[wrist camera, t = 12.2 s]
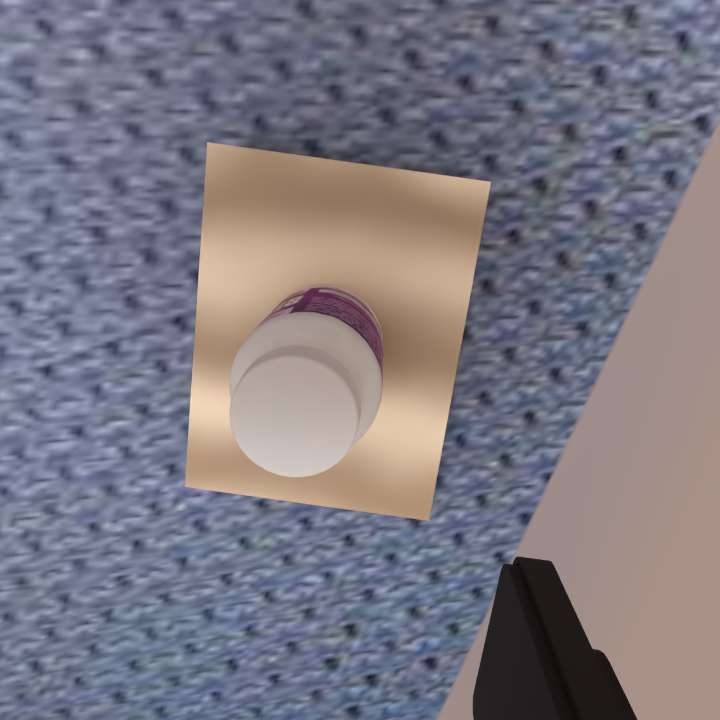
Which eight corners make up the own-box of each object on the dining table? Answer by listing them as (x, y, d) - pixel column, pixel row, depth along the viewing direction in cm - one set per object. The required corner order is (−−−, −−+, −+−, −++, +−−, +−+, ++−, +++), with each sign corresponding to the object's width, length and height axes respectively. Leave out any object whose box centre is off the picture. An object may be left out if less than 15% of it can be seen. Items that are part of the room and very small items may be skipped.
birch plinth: (230, 149, 30) (207, 142, 26) (476, 183, 30) (491, 181, 26) (207, 453, 34) (184, 486, 30) (423, 483, 34) (428, 520, 30)
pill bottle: (289, 264, 27) (239, 302, 18) (401, 309, 27) (410, 370, 18) (249, 373, 28) (182, 462, 19) (356, 414, 29) (342, 522, 19)
